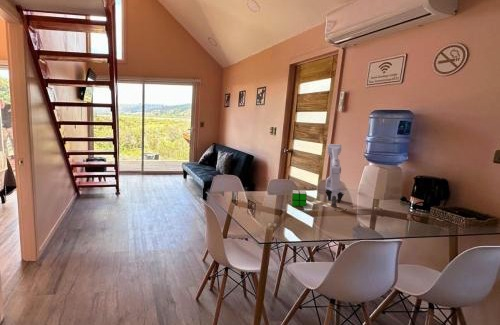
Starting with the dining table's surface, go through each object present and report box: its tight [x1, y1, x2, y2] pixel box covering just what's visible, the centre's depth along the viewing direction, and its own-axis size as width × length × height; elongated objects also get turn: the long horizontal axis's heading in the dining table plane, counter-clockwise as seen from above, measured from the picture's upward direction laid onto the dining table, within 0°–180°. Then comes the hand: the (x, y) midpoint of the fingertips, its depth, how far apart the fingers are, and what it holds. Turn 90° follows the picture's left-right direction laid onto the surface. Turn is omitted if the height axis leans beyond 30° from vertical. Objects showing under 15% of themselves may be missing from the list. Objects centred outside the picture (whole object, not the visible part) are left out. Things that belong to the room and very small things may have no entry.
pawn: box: [330, 196, 338, 208], centre depth 212 cm, size 4×4×8 cm
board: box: [309, 200, 348, 212], centre depth 216 cm, size 10×25×1 cm, turn 43°
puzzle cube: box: [291, 189, 307, 208], centre depth 218 cm, size 10×10×10 cm
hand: (334, 201), depth 212 cm, fingers open, 7 cm apart
